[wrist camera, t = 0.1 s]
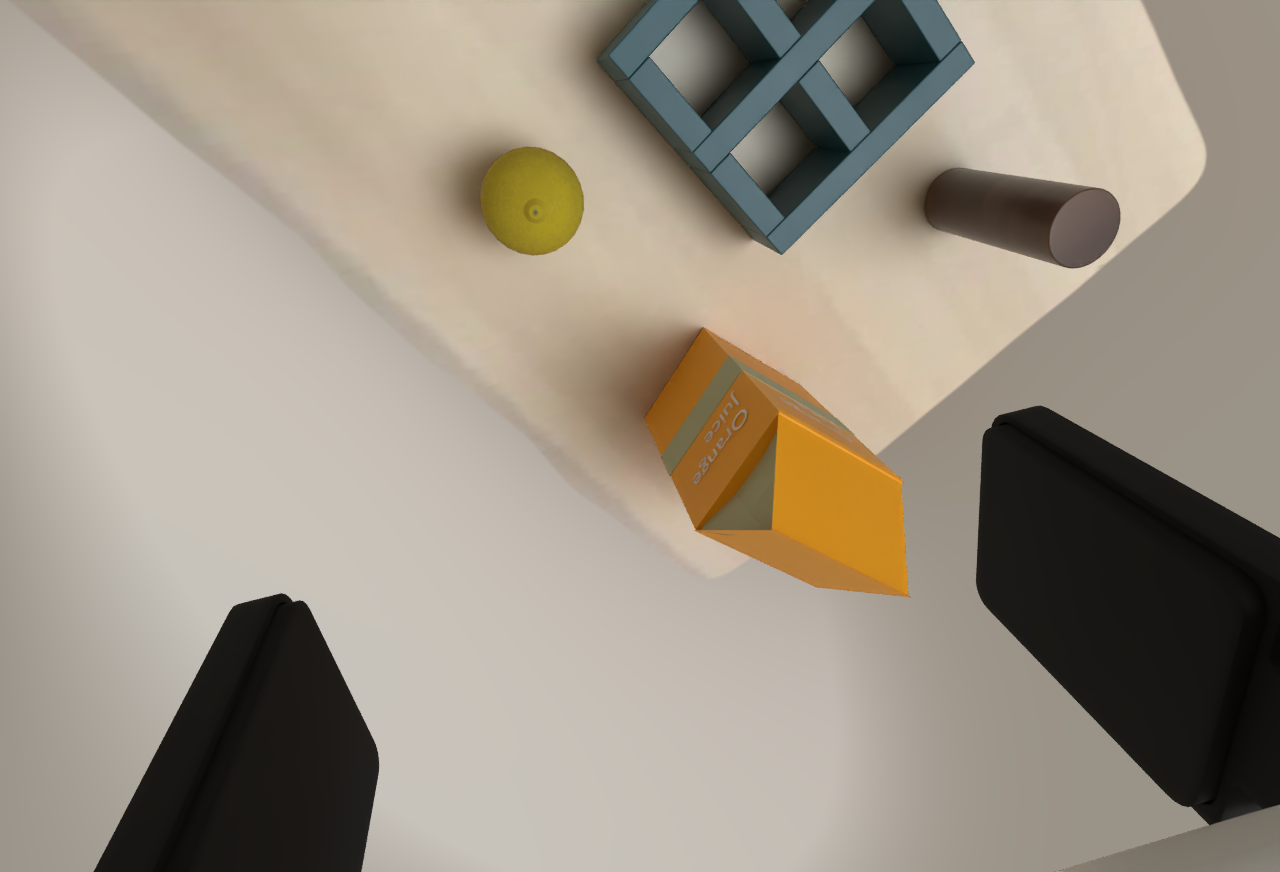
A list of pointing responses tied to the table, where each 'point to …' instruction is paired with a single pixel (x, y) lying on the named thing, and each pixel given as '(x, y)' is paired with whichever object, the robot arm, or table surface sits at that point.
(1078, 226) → the peg
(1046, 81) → the table surface
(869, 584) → the orange juice
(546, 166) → the lemon
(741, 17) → the teal square grid frame
